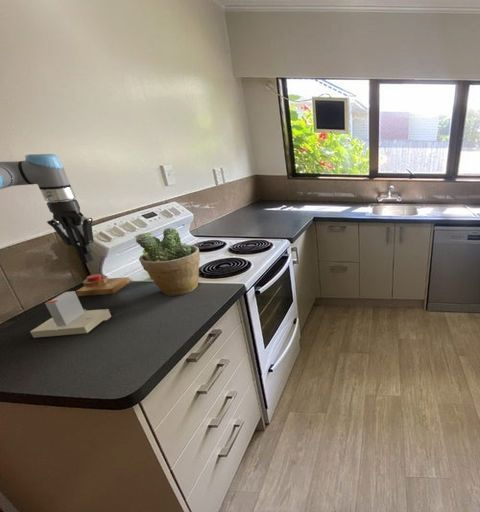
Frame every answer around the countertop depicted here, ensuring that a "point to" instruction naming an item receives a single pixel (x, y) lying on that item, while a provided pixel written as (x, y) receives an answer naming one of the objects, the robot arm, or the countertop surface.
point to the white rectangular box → (65, 308)
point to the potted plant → (170, 262)
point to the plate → (72, 324)
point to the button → (94, 277)
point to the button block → (102, 286)
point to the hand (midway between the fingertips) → (88, 261)
